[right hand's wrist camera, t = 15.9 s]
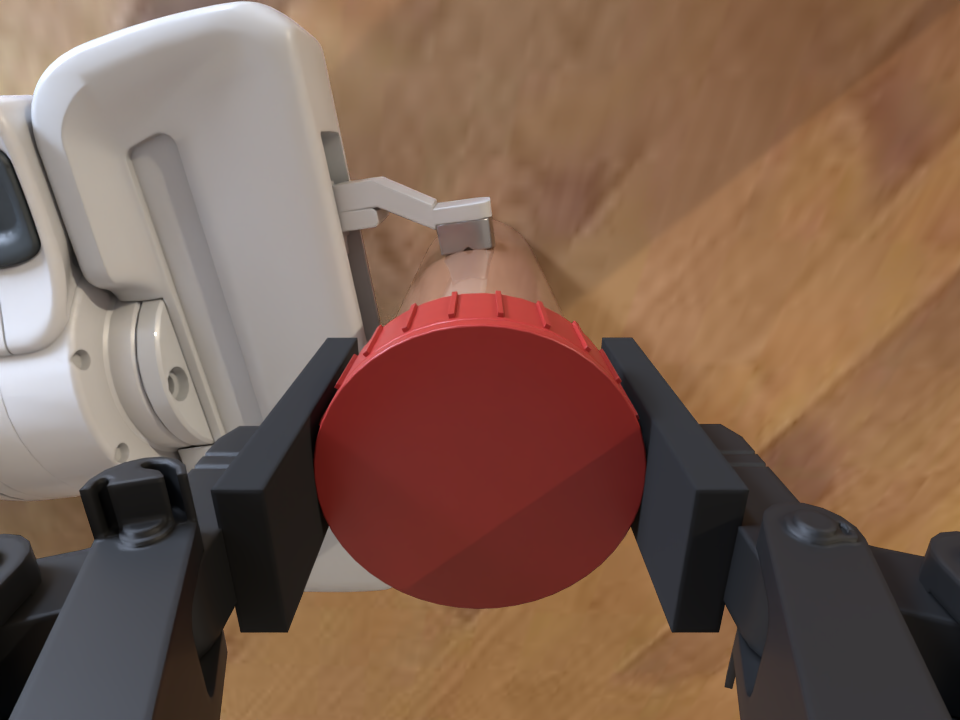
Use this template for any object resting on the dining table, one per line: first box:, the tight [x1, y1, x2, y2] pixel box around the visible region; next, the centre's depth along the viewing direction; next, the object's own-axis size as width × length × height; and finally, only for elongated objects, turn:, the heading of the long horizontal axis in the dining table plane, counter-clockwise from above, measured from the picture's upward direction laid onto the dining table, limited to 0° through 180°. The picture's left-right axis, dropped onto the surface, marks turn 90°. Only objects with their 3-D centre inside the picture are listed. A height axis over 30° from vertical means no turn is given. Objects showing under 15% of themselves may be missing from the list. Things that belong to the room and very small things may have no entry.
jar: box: [395, 220, 565, 318], centre depth 18 cm, size 5×5×16 cm
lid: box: [313, 291, 646, 609], centre depth 11 cm, size 6×6×2 cm
